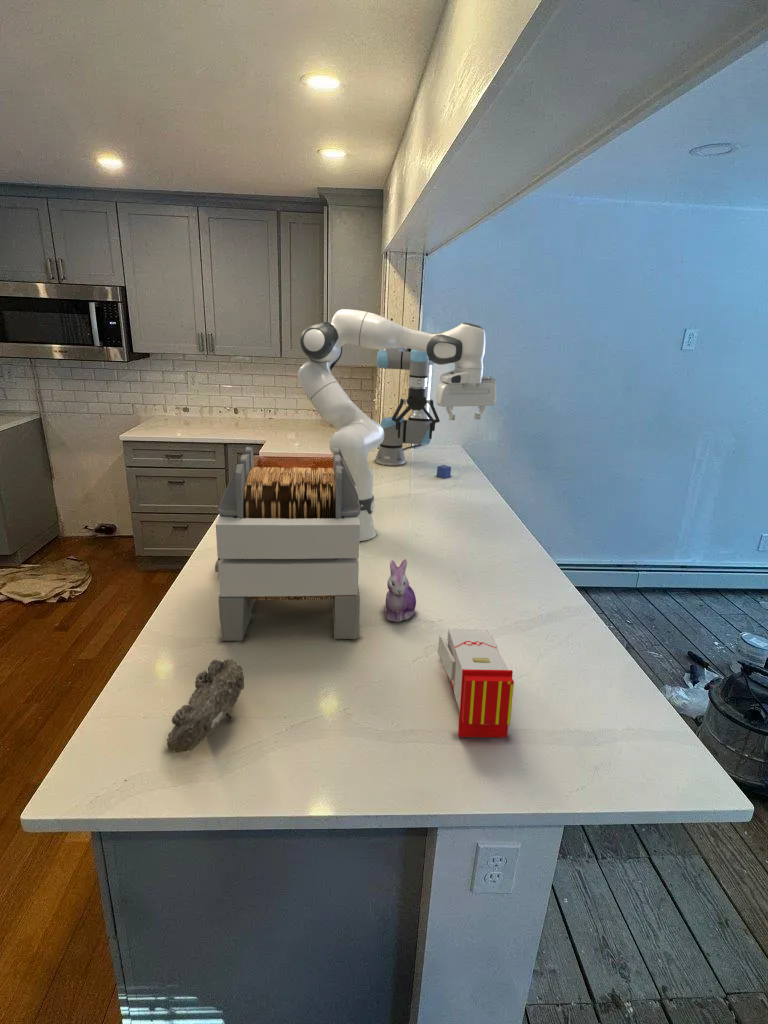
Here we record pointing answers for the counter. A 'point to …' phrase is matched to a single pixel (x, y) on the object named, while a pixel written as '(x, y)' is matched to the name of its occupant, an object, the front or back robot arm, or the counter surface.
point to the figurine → (399, 594)
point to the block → (443, 471)
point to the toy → (478, 682)
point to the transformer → (288, 542)
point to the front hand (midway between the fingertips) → (464, 419)
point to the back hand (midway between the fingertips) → (414, 437)
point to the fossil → (206, 705)
